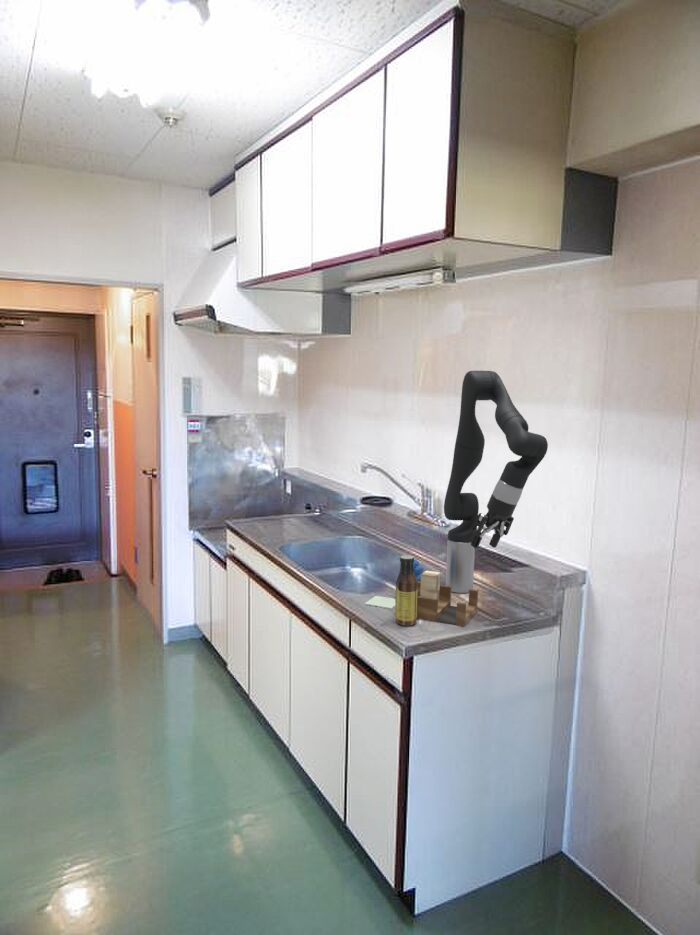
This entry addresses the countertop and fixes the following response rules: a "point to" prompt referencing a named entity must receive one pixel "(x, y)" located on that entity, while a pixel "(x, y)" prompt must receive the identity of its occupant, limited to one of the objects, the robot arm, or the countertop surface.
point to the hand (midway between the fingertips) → (483, 546)
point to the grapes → (417, 570)
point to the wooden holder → (446, 607)
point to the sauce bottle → (406, 593)
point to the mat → (382, 602)
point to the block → (430, 584)
